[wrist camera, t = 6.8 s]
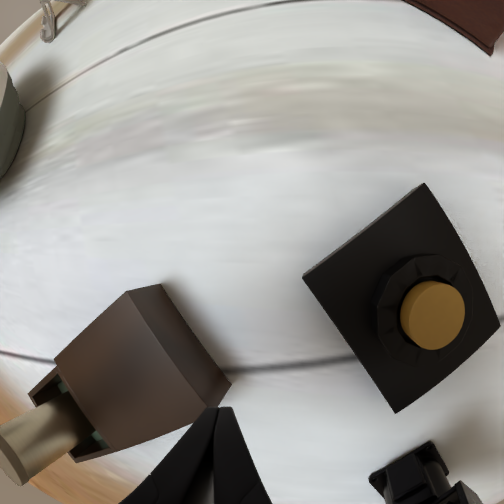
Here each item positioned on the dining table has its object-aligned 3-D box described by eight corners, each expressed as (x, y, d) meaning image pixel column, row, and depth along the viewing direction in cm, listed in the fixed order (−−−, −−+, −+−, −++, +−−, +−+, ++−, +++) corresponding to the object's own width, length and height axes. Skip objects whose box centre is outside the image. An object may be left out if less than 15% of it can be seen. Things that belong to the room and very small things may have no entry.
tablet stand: (48, 22, 26) (19, 2, 18) (83, -8, 25) (56, -32, 17) (48, 44, 26) (13, 22, 17) (87, 10, 24) (55, -18, 16)
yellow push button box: (486, 320, 16) (514, 331, 12) (388, 400, 18) (401, 427, 14) (413, 188, 18) (435, 175, 14) (302, 274, 19) (300, 281, 15)
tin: (117, 419, 22) (28, 486, 9) (94, 429, 23) (14, 486, 10) (87, 377, 23) (-13, 427, 10) (67, 391, 24) (-21, 436, 11)
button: (460, 315, 14) (473, 321, 12) (416, 352, 14) (426, 362, 13) (435, 267, 14) (448, 269, 12) (388, 306, 15) (397, 312, 13)
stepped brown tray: (232, 384, 20) (213, 413, 16) (98, 444, 24) (75, 463, 19) (160, 283, 21) (126, 290, 17) (51, 376, 25) (24, 388, 20)
